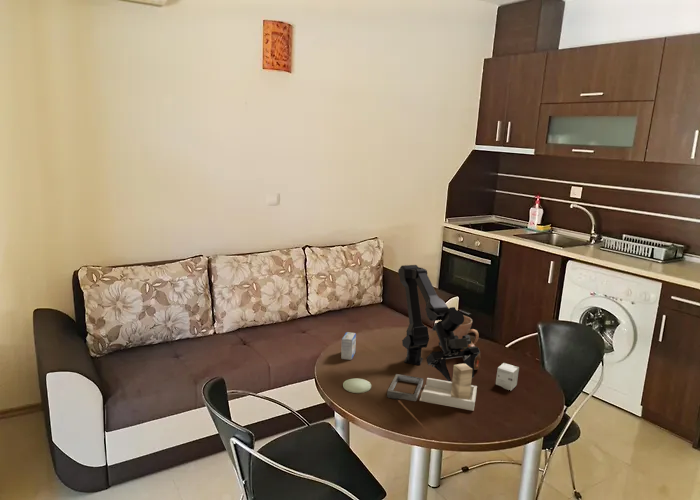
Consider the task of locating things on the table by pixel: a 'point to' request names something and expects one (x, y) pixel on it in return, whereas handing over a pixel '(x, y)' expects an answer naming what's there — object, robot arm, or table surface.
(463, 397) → the maple block
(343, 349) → the medicine box
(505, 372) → the skincare box
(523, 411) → the table surface
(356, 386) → the pad
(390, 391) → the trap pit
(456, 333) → the ceramic jug
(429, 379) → the cream rectangular tray
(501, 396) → the table surface
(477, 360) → the tin
